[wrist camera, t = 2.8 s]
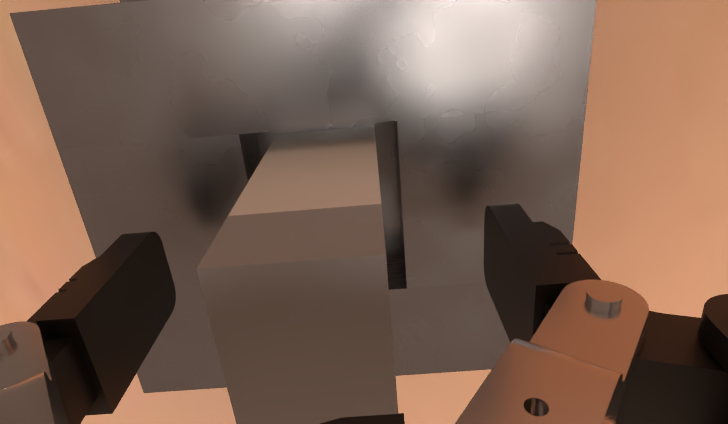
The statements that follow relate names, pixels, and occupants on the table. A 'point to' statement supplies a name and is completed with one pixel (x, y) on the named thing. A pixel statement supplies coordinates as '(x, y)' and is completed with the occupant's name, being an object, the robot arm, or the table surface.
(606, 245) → the table surface
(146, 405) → the table surface
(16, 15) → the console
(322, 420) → the plug
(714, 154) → the table surface
